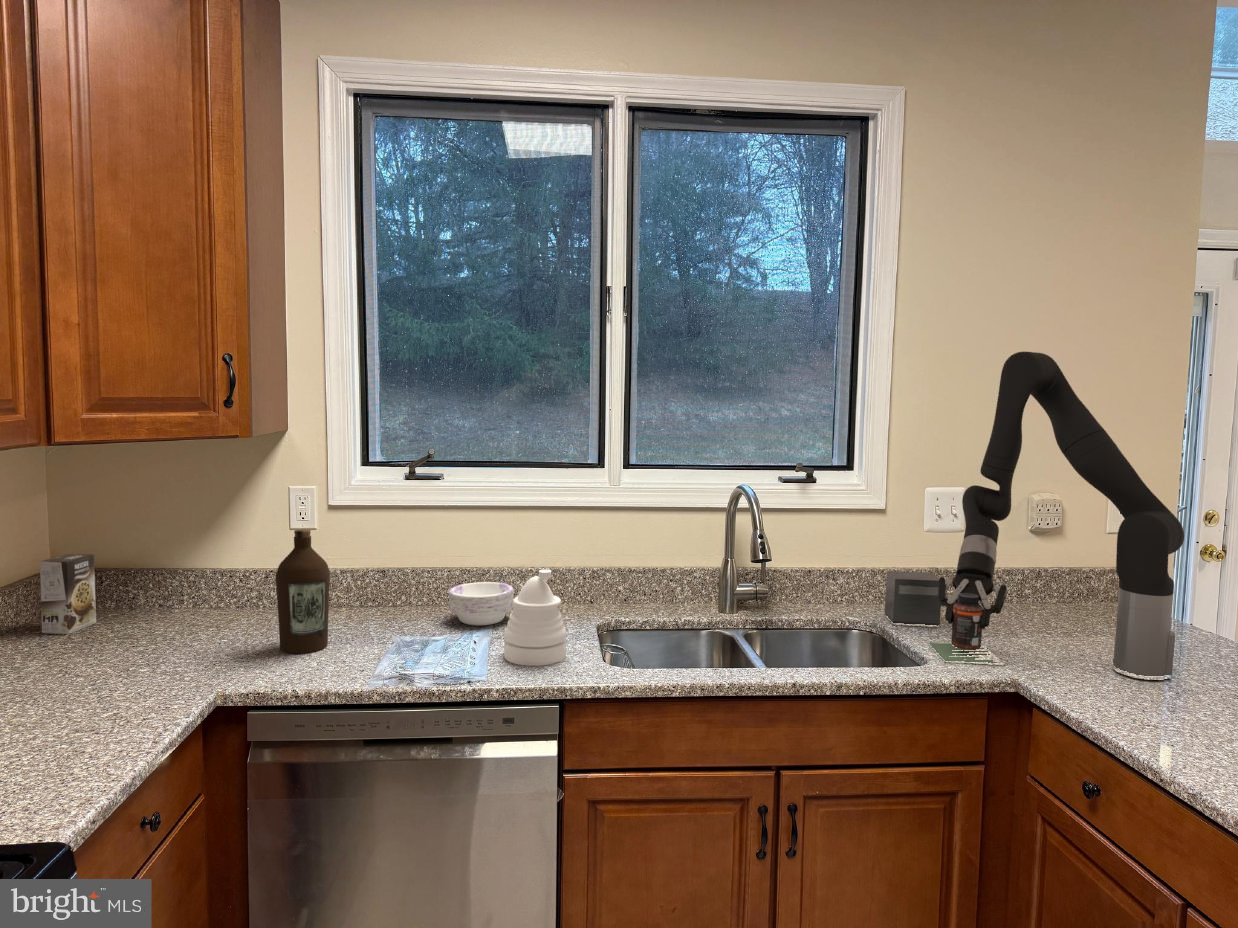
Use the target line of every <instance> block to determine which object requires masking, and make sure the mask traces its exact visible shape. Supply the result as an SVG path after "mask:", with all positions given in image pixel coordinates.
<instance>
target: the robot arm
mask: <svg viewBox="0 0 1238 928" xmlns="http://www.w3.org/2000/svg"><path fill="white" fill-rule="evenodd" d="M997 394H998V396H997V402H996V406H995V407H996V409H995V413H994V420H993V425H992V430H991V434H990V437H989V441H988V443H987V447H986V450H985V454H984V456H983V460H982V462H981V463H982V464H981V467H980V470H979V471H980V474H981V475H982V477H984V478H986V479H988V480H990V481H992V482H994V483H996V484H997V485H998V487H999V489H998V490H997V489H993V488H990V487H985V486H981V485H975V484H974V485H970V486H969V487H967V488H966V489H965V491H964V493H963V495H962V498H961V499H962V500H961V501H962V502H961V504H962V510H963V511H962V512H963V515H964V516H963V517H964V522H965V527H964V528H965V529H964V534H963V539H962V543H961V546H960V551H959V555H958V562H957V565H956V571H955V576H954V577H953V578H952V579H946V578H945V577H943V576H940V577H938V578H939V601H940V605H941V607H946V609H945V613H944V619H945V621H947V624H949V625H952V617H953V606H954V604H955V603H958V602H959V600H958V598H959V594H960V593H971V594H976V595H978V596H979V604H980V606H981V607H982V608H983V612H982V619H981V629H982V630H985V629H986V628H988V627H989V625H990V621H991V620H990V619H991V615H992V614H1001V612H1002V609H1003V607H1004V604H1005V600H1006V598H1007V594H1008V589H1007V588H1008V587H1007V585H1006V584H1002V585H996V584H994V582H993V581H994V574H995V567H996V564H997V554H998V553H997V552H998V551H997V547H998V540H999V535H1000V528H999V525H998V523H996V522H1002V521H1004V520H1006V519H1007V518H1008V517H1009V515H1010V514H1011V510H1012V485H1013V478H1014V475H1015V471H1016V468H1017V465H1018V461H1019V459H1020V455H1021V452H1022V445H1023V428H1022V427H1023V424H1022V423H1023V416H1024V410H1025V408H1026V404H1027V402H1028V400H1029V398H1030V396H1031V397H1032V398H1034V399H1035V401H1037V403H1038V404H1039V405H1040V407H1041V408H1042V409H1043V410H1044V411H1045V413H1046V415H1047V416H1048V418H1049V421H1050V423H1051V426H1052V431H1053V434H1054V438H1055V443H1056V444H1057V446H1058V448H1059V450H1060V452H1061V453H1062V455H1063V456H1064V457H1065V459H1066V461H1068V463H1069V464H1070V465H1071V467H1072V468H1073V470H1074V471H1075V472H1076V473H1077V474H1078V475H1079V476H1080V477H1081V478H1082V480H1084V481H1086V482H1087V483H1088V484H1089V485H1090V486H1092V487H1093V488H1095V490H1097V491H1098V492H1100V493H1101V494H1102V495H1103V496H1105V498H1107V499H1108V500H1109V501H1110V502H1111V503H1112V504H1113V505H1114V506H1115V507H1116V509H1117V510H1118V511H1119V513H1120V514H1121V516H1122V517H1123V520H1122V521H1121V522H1120V525H1119V527H1118V531H1117V537H1116V559H1115V560H1116V561H1115V563H1116V564H1115V569H1116V570H1115V571H1116V574H1117V577H1118V594H1117V595H1118V596H1117V608H1116V624H1115V636H1114V648H1113V649H1114V650H1113V658H1112V661H1113V663H1112V664H1113V665H1114V666H1115V667H1116V668H1119V669H1120V670H1123V671H1127V672H1129V673H1134V674H1136V675H1144V676H1164V675H1172V676H1173V667H1174V655H1175V645H1176V644H1175V643H1176V633H1175V632H1174V631H1172V630H1171V629H1172V617H1173V605H1174V603H1173V602H1174V592H1175V582H1174V579H1172V577H1170V574H1169V555H1171V554H1173V553H1176V552H1178V550H1180V548H1181V547H1182V546H1183V544H1184V541H1185V531H1184V527H1183V525H1182V523H1181V522H1180V520H1179V519H1178V518H1177V516H1175V514H1174V513H1173V512H1172V511H1171V510H1169V508H1168V507H1167V506H1166V505H1165V503H1163V502H1162V501H1161V500H1160V499H1159V498H1158V497H1157V496H1156V495H1155V494H1154V493H1153V491H1151V489H1150V488H1149V487H1148V486H1147V485H1146V484H1145V482H1144V481H1143V480H1142V478H1141V477H1140V476H1139V475H1140V474H1138V473H1137V471H1136V470H1135V468H1134V466H1133V465H1132V464H1131V463H1130V462H1129V460H1128V459H1127V458H1126V457H1125V456H1124V453H1122V451H1121V450H1120V448H1119V447H1118V445H1117V444H1116V443H1115V441H1114V440H1113V439H1112V437H1111V436H1110V435H1109V434H1108V432H1107V431H1106V430H1105V429H1104V427H1103V426H1102V424H1100V422H1098V420H1097V419H1096V418H1095V417H1094V414H1092V413H1091V411H1090V410H1089V409H1088V408H1087V407H1086V405H1085V404H1084V403H1083V401H1081V399H1080V398H1079V397H1078V395H1077V394H1076V392H1075V391H1074V389H1073V388H1072V386H1071V384H1070V383H1069V381H1068V379H1067V377H1066V376H1065V375H1064V373H1063V371H1062V370H1061V368H1060V366H1059V365H1058V363H1057V362H1056V361H1055V360H1054V359H1053V357H1051V356H1050V355H1047V354H1046V353H1043V352H1042V353H1041V352H1033V351H1018V352H1015V353H1013V354H1011V355H1010V356H1008V358H1007V359H1006V360H1005V362H1004V363H1003V366H1002V370H1001V373H1000V381H999V387H998V393H997ZM951 586H952V587H953V588H954V591H953V592H952V594H951V596H949V598H947V591H948V590H950V588H951ZM992 592H995V596H996V598H995V601H994V604H990V601H989V598H988V596H989V595H990V594H991V593H992ZM1113 665H1112V666H1113Z"/></svg>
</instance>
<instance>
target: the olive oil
mask: <svg viewBox="0 0 1238 928" xmlns="http://www.w3.org/2000/svg"><path fill="white" fill-rule="evenodd" d="M293 533H294V536H293V549H292V550H291V551H290V552H289V554H287V556H285V558H284V559H283V560H282V561H281V562H280V563H279V564H278V566H277V570H276V573H275V589H276V590H275V591H276V600H277V601H276V602H277V615H278V632H279V634H278V636H279V649H280V651H281V652H283V653H287V654H296V655H297V654H299V655H300V654H301V655H302V654H310V653H315V652H318V651H322V650H323V649H325V648H327V646H328V643H329V641H328V640H329V635H328V634H329V611H330V610H329V608H330V587H331V585H330V583H331V573H330V572H331V571H330V569H329V564H328V563H327V562H326V560H325V559H324V558H323V557H322V556H320V554H318V553H317V552H316V551H315V550H314V548H313V547H312V535H311V533H312V532H311V529H308V528H299V529H295V530H294V532H293Z"/></svg>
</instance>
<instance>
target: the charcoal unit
mask: <svg viewBox="0 0 1238 928" xmlns="http://www.w3.org/2000/svg"><path fill="white" fill-rule="evenodd" d="M939 578H940V577H938V576H937V575H936V574H935V573H933V572H928V571H927V572H922V571H900V570H898V571H897V570H886V579H885V580H886V581H885V596H884V597H885V600H884V601H885V602H884V616H885V615H886V616H888V618H889V619H890V620H891V621H892V622H893V623H904V624H925V625H937V626H938V625H939V626H940V627H941V612H942V611H941V610H942V606H941V605H940V601H939Z"/></svg>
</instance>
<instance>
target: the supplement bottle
mask: <svg viewBox="0 0 1238 928" xmlns="http://www.w3.org/2000/svg"><path fill="white" fill-rule="evenodd" d="M958 600H959V602H958V603H955V604H954V606H953V617H952V624H951V636H950V639H951V642H950V644H952V645H954V646H955V647H957V648H961V649H967V650H976V649H979V648H980V647H981V645H982V639H983V638H982V636H983V635H982V634H983V629H981V619H982V612H983V607H982V605H981V604H980V600H979V596H978V595H976V594H971V593H960V594H959V598H958Z"/></svg>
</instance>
